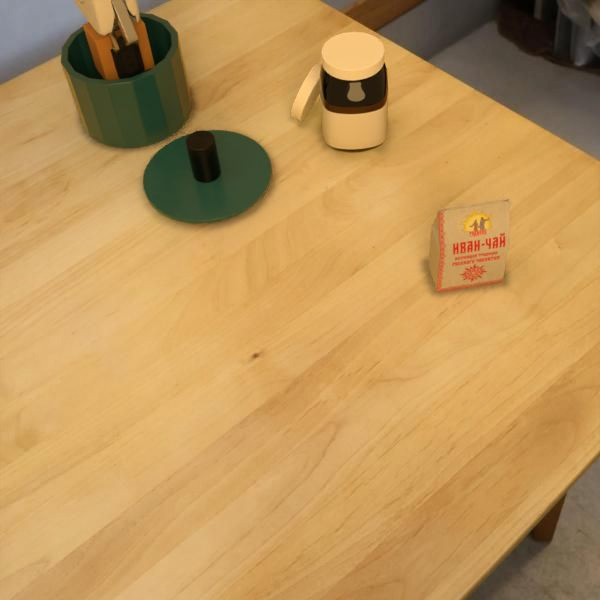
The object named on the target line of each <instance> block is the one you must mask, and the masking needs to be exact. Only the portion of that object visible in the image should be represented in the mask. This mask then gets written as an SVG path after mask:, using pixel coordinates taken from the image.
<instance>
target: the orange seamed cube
mask: <svg viewBox="0 0 600 600" xmlns="http://www.w3.org/2000/svg"><path fill="white" fill-rule="evenodd" d="M131 20H132V19H131ZM114 21H117V19H114ZM132 23H133V26H134V28H135V31H136V33H137V36H138V39H139V42H138V43H139V48H140V52H141V55H142V59H143V63H144V67H145V70H144V71H146V70H148V69H151V68H153V67H154V66H155V64H154V60H153V56H152V52H151V48H150V44H149V40H148V35H147V31H146V27H145V23H144V22H143V21H142V20H141V18H139V21H138V23H134V22H133V21H132ZM82 26H83V28H84V31H85V34H86V37H87V41H88V44H89V47H90V50H91V54H92V57H93V60H94V63H95V66H96V69H97V70H98V71H99V73H100V74H101V76H102V77H103V78H104V80H109V81H110V80H117V79H120V78H119V77H118V75H117V71H116V68H115V64H114V61H113V57H112V54H111V49H113V47H112V44H111V41H110V38H109V35H108V34H106V35H105V36H103V35H101V34H99V33H97V32H96V31H95V29H94V28H93V27H92V26H91V24H90V23H89V22H88V21H87V22H85V23H83V24H82ZM114 32H115V35H116V38H118V36H121V35H122V32H121V29H119V30H117V31H114Z"/></svg>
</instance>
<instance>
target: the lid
mask: <svg viewBox="0 0 600 600" xmlns="http://www.w3.org/2000/svg"><path fill="white" fill-rule="evenodd" d="M272 169H273V168H272V162H271V158H270V156H269V154H268V152H267V151H266V150H265V148H264V147H263V146H262V145H261V144H260V143H259V142H257V140H254V139H253V138H251V137H249V136H247V135H245V134H242V133H239V132H236V131H231V130H223V129H209V130H203V129H201V130H196V131H195V130H194V131H192V132H191V133H188V134H185V135H182V136H180V137H178V138H176V139H173V140H171V141H170V142H168V143H166V144H165V145H164V146H163V147H161V148H160V149H159V150H158V151H157V152H155V154H154V155H153V156H152V157H151V158H150V160H149V161H148V163H147V164H146V167H145V169H144V172H143V177H142V186H143V191H144V194H145V198H146V199H147V201H148V203H149V204H150V205H151V207H152V208H154V209H155V210H156V211H157V212H158V213H160V214H161V215H163V216H164V217H166V218H168V219H170V220H174V221H177V222H180V223H181V222H182V223H186V224H195V225H196V224H199V225H200V224H201V225H202V224H203V225H204V224H213V223H219V222H222V221H226V220H230V219H232V218H234V217H237V216H239V215H241V214H243V213H245V212H247V211H248V210H250V209H251V208H252V207H253V206H255V205H256V204H257V203H258V202H259V201H260V200H261V198H263V196H264V195H265V193H266V192H267V191H268V189H269V186H270V184H271V181H272V176H273V175H272V174H273V170H272Z"/></svg>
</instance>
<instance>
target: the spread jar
mask: <svg viewBox="0 0 600 600" xmlns="http://www.w3.org/2000/svg"><path fill="white" fill-rule="evenodd" d="M320 53H321V63H320V64H319V63H316V64H315V65H313V67H312V68H311V69H310V71H309V72H308V73H307V76H306V77H305V79H304V80H303V82H302V84H301V86H300V88H299V90H298V92H297V95H296V96H295V99H294V101H293V104H292V107H291V109H290V117H292V118H294V119H295V120H297V121H299V122H303V121H304V120H305V119H306V118H307V116H308V115H309V113H310V112H311V110H312V109H313V107H314V105H315V103H316V101H317V100H318V97H319V99H320V100H319V101H320V120H321V129H322V136H323V140H324V142H325V144H326V145H327V146H328V148H330V149H332V150H334V151H337V152H342V153H350V154H352V153H353V154H354V153H356V154H357V153H364V152H368V151H369V152H370V151H372V150H374V149H377V148H379V147H380V146H382V145H383V144H384V142H385V141H386V138H387V134H388V133H387V132H388V123H389V122H388V121H389V120H388V118H389V117H388V113H389V110H388V109H389V76H388V67H387V65H386V62H385V46H384V44H383V42H382V41H381V39H379V38H378V37H376V36H375V35H372V34H370V33H367V32H362V31H348V32H347V31H346V32H343V33H339V34H336V35H334V36H332V37H330V38H329V39H328V40H326V41H325V43H324V44H323V45H322V47H321V52H320Z"/></svg>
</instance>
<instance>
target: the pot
mask: <svg viewBox="0 0 600 600" xmlns="http://www.w3.org/2000/svg"><path fill="white" fill-rule="evenodd" d="M139 15H140V18H141V20H142V21H143V22H144V23H145V27H146V31H147V35H148V40H149V44H150V48H151V52H152V56H153V60H154V64H155V66H154V67H153V68H151V69H148V70H146V71H143V72H141V73H139V74H136V75H134V76H131V77H129V78H124V79H117V80H110V81H109V80H104V78H103V77H102V76H101V74H100V73H99V71H98V70H97V69H96V66H95V63H94V60H93V57H92V54H91V50H90V47H89V44H88V41H87V37H86V34H85V31H84V28H83V25H82V26H81V27H79V28H78V29H76V30H75V31H74V32H72V33H71V34H70V35H69V36H68V38H67V39H66V41H65V42H64V44H63V45H62V47H61V51H60V52H61V55H60V64H61V68H62V70H63V72H64V76H65V79H66V82H67V84H68V87H69V90H70V93H71V96H72V98H73V101H74V105H75V107H76V111H77V113H78V115H79V119H80V121H81V123H82V125H83V127H84V129H85V132H87V134H88V135H89V137H91V138H92V139H93V140H94V141H96V142H98V143H99V144H101V145H105V146H108V147H112V148H117V149H136V148H143V147H147V146H152V145H154V144H156V143H160V142H162V141H164V140H166V139H168V138H169V137H171V136H173V135H174V134H176V133H177V132H178V131H179V130H180V129H181V128H182V127H183V126H184V125H185V124H186V122H187V121H188V119H189V117H190V115H191V111H192V109H193V108H192V107H193V105H192V104H193V102H192V97H191V90H190V85H189V81H188V75H187V70H186V65H185V61H184V57H183V52H182V47H181V41H180V38H179V37H180V36H179V33H178V31H177V30H176V28H175V27H174V26H173V25H172V24H171V22H169V20H167V19H165V18H163V17H160V16H157V15H155V14H153V13H148V12H147V13H146V12H139Z"/></svg>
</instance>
